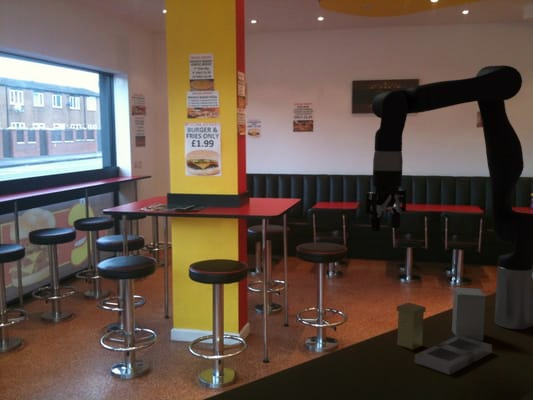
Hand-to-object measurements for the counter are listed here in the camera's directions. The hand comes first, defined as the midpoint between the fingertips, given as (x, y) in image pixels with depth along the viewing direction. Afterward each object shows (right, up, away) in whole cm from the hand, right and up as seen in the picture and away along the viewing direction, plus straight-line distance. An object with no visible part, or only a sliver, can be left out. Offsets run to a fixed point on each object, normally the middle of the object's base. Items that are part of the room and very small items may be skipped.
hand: (385, 229), depth 145 cm
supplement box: (+24, -30, +6) cm, 39 cm away
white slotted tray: (+14, -32, -12) cm, 36 cm away
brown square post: (+5, -31, -4) cm, 31 cm away
